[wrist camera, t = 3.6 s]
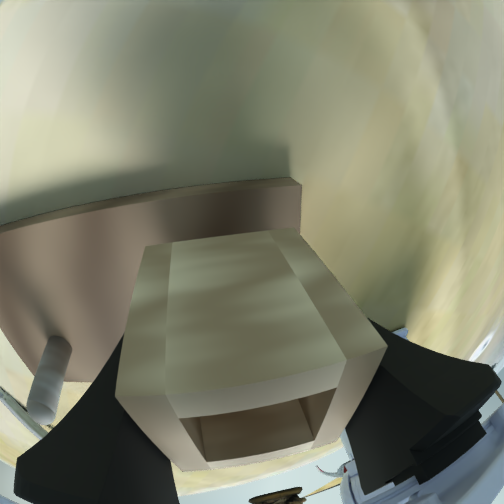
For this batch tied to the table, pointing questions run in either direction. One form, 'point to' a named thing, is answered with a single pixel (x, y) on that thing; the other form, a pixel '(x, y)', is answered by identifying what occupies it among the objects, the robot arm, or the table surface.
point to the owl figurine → (280, 497)
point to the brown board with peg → (109, 270)
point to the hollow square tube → (242, 350)
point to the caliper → (22, 415)
